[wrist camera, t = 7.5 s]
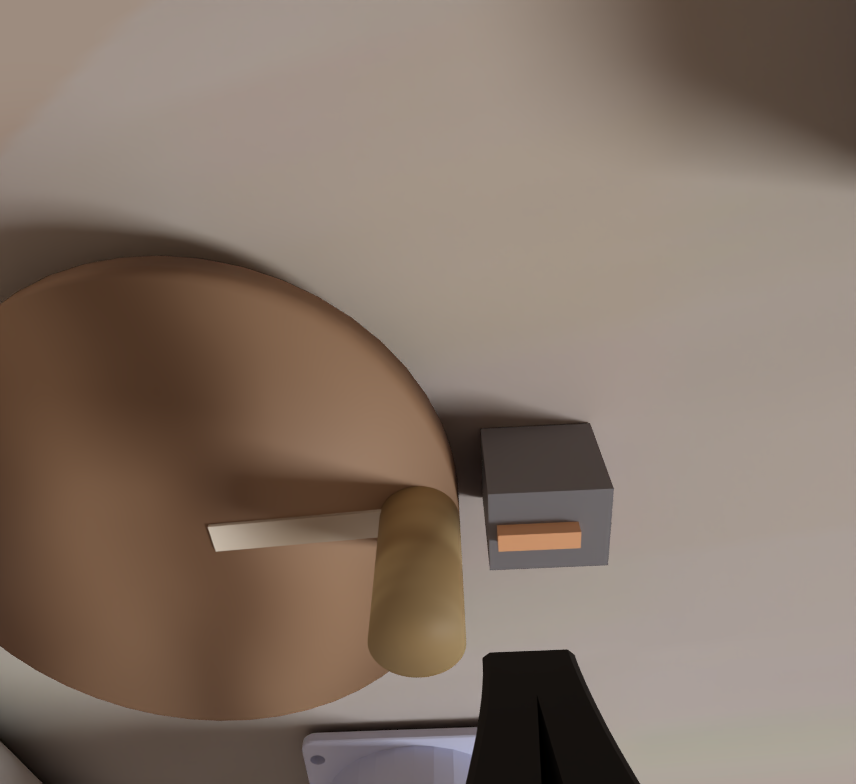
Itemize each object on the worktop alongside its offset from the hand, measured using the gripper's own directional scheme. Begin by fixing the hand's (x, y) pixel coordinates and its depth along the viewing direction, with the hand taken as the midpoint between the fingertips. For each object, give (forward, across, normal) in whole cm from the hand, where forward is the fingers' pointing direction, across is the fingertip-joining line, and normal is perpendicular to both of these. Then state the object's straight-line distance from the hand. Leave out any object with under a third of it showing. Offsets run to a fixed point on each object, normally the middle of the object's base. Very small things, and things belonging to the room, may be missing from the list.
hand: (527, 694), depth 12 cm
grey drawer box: (+9, -1, +2) cm, 10 cm away
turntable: (+8, +8, +2) cm, 12 cm away
